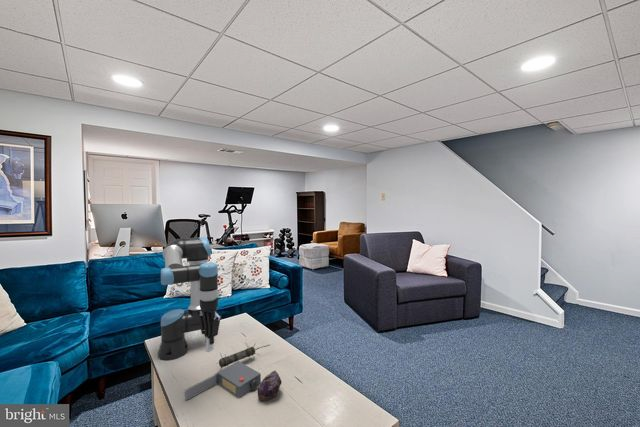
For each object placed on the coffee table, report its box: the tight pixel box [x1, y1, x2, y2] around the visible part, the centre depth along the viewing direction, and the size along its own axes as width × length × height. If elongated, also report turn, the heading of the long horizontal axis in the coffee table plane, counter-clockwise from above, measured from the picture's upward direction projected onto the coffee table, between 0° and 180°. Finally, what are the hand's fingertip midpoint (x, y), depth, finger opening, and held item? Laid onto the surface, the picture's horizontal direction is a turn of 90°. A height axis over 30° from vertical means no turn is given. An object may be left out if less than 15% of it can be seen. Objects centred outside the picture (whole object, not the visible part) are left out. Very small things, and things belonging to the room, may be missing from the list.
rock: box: [256, 370, 283, 402], centre depth 123 cm, size 12×9×10 cm
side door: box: [183, 372, 219, 401], centre depth 125 cm, size 15×2×5 cm, turn 140°
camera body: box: [216, 360, 262, 399], centre depth 130 cm, size 19×12×6 cm, turn 53°
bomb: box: [215, 342, 270, 371], centre depth 148 cm, size 11×10×30 cm
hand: (209, 350), depth 124 cm, fingers closed
